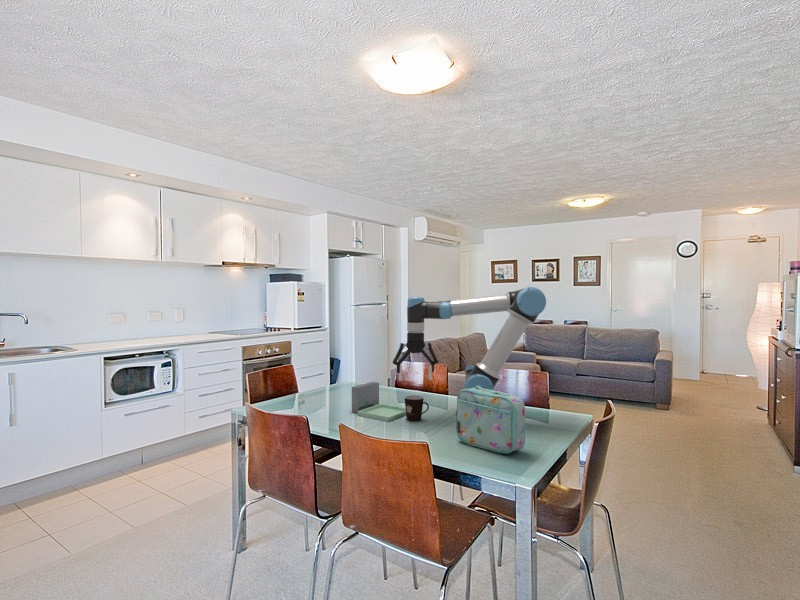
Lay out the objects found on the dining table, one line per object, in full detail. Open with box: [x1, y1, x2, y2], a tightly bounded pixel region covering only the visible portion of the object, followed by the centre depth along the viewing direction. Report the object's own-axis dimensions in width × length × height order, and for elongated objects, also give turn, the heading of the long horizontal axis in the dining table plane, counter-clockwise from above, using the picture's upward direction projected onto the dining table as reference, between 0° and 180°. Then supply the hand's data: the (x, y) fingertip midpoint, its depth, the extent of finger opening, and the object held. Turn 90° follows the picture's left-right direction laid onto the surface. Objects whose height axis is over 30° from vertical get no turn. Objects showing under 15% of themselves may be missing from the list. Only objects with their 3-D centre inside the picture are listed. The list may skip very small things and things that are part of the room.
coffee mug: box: [403, 394, 430, 423], centre depth 196 cm, size 12×9×10 cm
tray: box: [357, 403, 406, 423], centre depth 206 cm, size 18×18×2 cm
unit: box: [351, 381, 380, 414], centre depth 215 cm, size 4×16×12 cm, turn 145°
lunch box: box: [454, 386, 526, 454], centre depth 162 cm, size 27×10×21 cm, turn 45°
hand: (415, 380), depth 196 cm, fingers open, 13 cm apart
